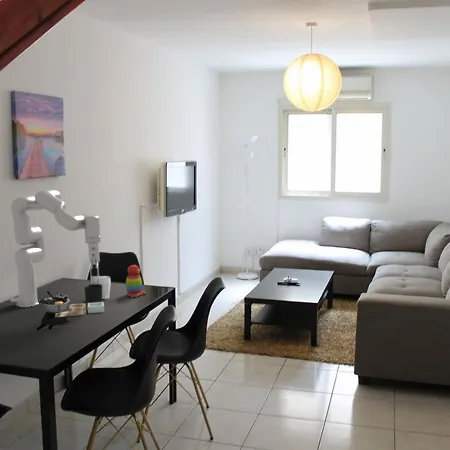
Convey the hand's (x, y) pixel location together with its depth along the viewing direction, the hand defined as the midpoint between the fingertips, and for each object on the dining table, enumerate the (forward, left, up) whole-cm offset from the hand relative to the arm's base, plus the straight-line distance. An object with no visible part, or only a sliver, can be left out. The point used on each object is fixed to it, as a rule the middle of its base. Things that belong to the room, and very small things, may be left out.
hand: (94, 274), depth 285 cm
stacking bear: (+22, +31, -20) cm, 43 cm away
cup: (+4, +29, -20) cm, 35 cm away
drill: (0, 0, -4) cm, 4 cm away
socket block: (-12, -2, -19) cm, 23 cm away
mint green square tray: (0, 0, -19) cm, 19 cm away
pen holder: (-1, +18, -20) cm, 27 cm away
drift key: (-18, -2, -17) cm, 25 cm away
